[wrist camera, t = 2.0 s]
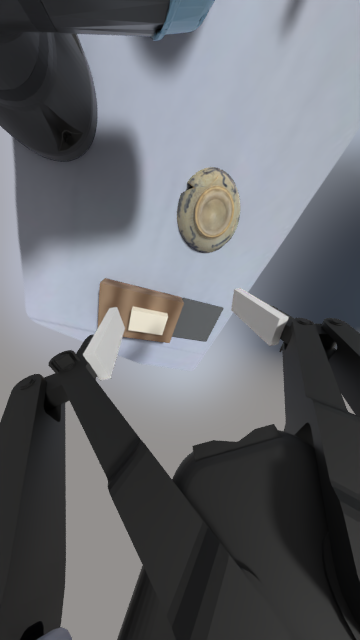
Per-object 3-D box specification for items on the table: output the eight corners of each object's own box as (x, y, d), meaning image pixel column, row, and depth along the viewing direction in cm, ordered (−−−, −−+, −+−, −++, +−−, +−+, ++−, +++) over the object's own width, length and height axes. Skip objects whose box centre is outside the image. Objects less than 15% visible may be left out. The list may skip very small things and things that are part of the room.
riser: (102, 325, 40) (97, 333, 36) (105, 278, 33) (99, 283, 30) (168, 335, 46) (169, 342, 42) (181, 297, 39) (184, 302, 36)
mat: (169, 335, 46) (169, 336, 46) (182, 297, 40) (183, 298, 39) (205, 340, 50) (206, 341, 50) (223, 307, 44) (223, 308, 44)
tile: (129, 325, 37) (128, 330, 35) (132, 306, 34) (131, 309, 32) (161, 331, 40) (162, 335, 38) (167, 313, 37) (168, 317, 35)
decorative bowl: (221, 260, 37) (253, 190, 30) (227, 263, 33) (264, 185, 27) (167, 239, 32) (190, 150, 25) (169, 240, 29) (196, 138, 22)
